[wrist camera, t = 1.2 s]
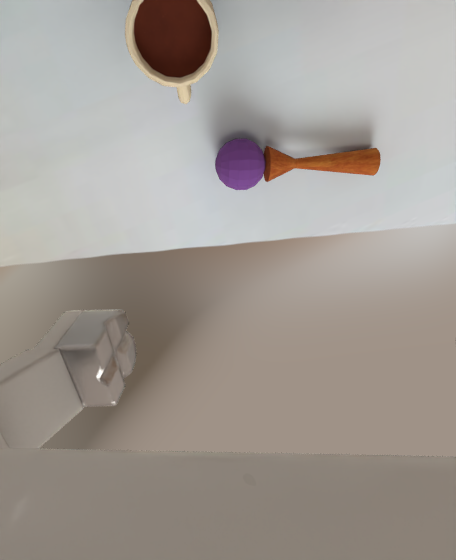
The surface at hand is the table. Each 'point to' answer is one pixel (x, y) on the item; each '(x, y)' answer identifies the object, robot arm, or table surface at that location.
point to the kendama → (284, 163)
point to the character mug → (172, 41)
